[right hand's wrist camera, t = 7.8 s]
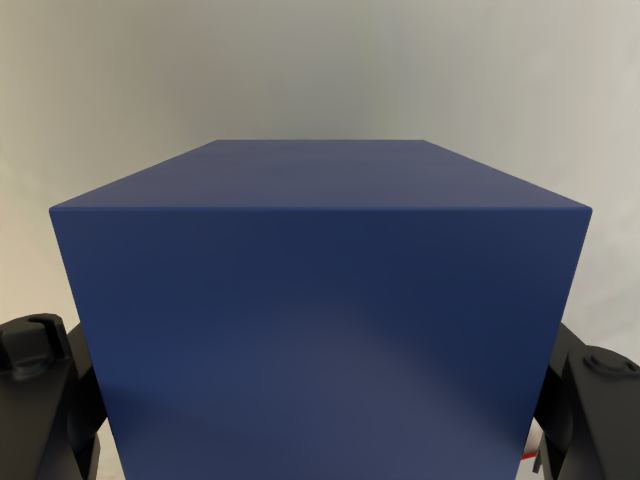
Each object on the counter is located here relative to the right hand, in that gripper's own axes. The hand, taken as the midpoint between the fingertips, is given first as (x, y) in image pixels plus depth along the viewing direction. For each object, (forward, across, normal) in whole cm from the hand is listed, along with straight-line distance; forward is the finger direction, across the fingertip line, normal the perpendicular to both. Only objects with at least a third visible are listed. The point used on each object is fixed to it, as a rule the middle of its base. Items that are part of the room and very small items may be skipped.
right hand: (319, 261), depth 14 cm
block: (+2, 0, 0) cm, 2 cm away
